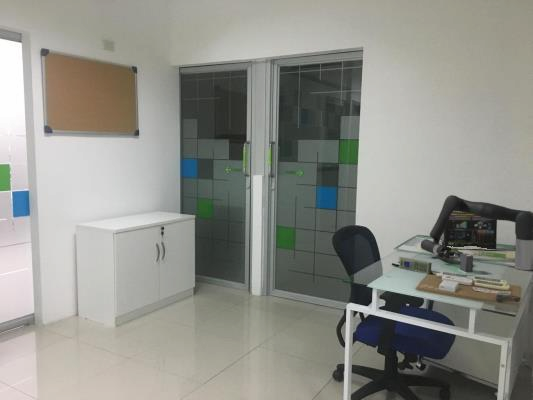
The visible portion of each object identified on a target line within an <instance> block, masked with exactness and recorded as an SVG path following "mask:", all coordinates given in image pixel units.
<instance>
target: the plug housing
mask: <svg viewBox="0 0 533 400" xmlns="http://www.w3.org/2000/svg"><path fill="white" fill-rule="evenodd" d="M459 264H460V270H461V271H464V272H473V269H474V255H471V254H469V253H463V254H460V257H459Z"/></svg>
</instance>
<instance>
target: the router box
mask: <svg viewBox="0 0 533 400" xmlns="http://www.w3.org/2000/svg"><path fill="white" fill-rule="evenodd" d="M497 229H498V220H493V219H488V218H483V217H480V216H477V215H474V214H471V213H467V212H460V211H453V212H452V213H451V215H450V217H449V219H448V222H447V226H446V229H445V231H444V233H443V234H442V236H441V244H442V245H444V246H451V247H452V246H453V247H464V246H477V247H481V248H487V249H496V250H497V235H498V234H497V233H498V230H497Z"/></svg>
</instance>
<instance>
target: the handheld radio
mask: <svg viewBox="0 0 533 400" xmlns="http://www.w3.org/2000/svg"><path fill="white" fill-rule="evenodd" d="M398 260H399V261H398V262H397V263H393V262H392V263H391V266H393V267H398V268H399V269H402V270H408V271H412V272H416V273H421V274H425V275H432V262H430V261H426V260H419V259H415V258H409V257H404V256H399V257H398Z"/></svg>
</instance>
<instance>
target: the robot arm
mask: <svg viewBox="0 0 533 400" xmlns="http://www.w3.org/2000/svg"><path fill="white" fill-rule="evenodd" d="M453 211H460V212H467V213H471V214H474V215H477V216H480V217H483V218H488V219H493V220H497V221H508V222H512V223H514V233H515V249H514V250H515V252H514V253H515V254H514V269H517V270H521V271H532V270H533V212H532V211H531V210H523V209H522V210H521V209H513V208H509V207H506V206H504V205H503V206H502V205H498V204H495V203H490V202H483V201H470V200H467V199H464V198H461V197H459V196H457V195H453V194H451V195H450V194H449V195H448V196H447V197H446V198H445V200H444V203H443V205H442V208H441V209H440V213H439V215H438V218H437V219H436V221H435V223H434V225H433V226H432V229H431V231H430V232H429V236H430V238H432V240H433V241H432V240H430V239H423V240H422V241H421V242H420V248H421V249H422V250H424V251H426V252H428V253H431V254H433V255H436V256H437V257H438V258H440V259H445V260H446V259H447V260H449V259H450V258H460V254H464V252H463V251H461V250H451V249H450V248H449V247H447V246H444V245H441V244H440V242H441V239H442V234H443V233H444V231H445V229H446V226H447V222H448V219H449V217H450V215H451V213H452V212H453Z"/></svg>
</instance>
